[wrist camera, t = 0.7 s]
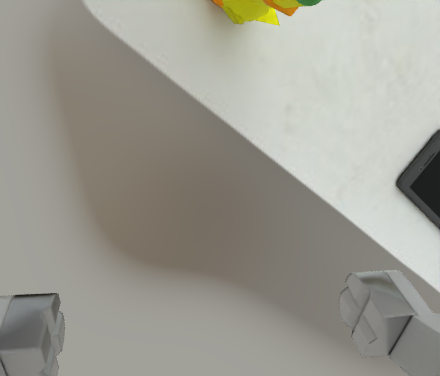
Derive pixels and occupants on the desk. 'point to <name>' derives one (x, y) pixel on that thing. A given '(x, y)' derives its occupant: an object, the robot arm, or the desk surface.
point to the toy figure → (260, 9)
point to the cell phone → (425, 180)
